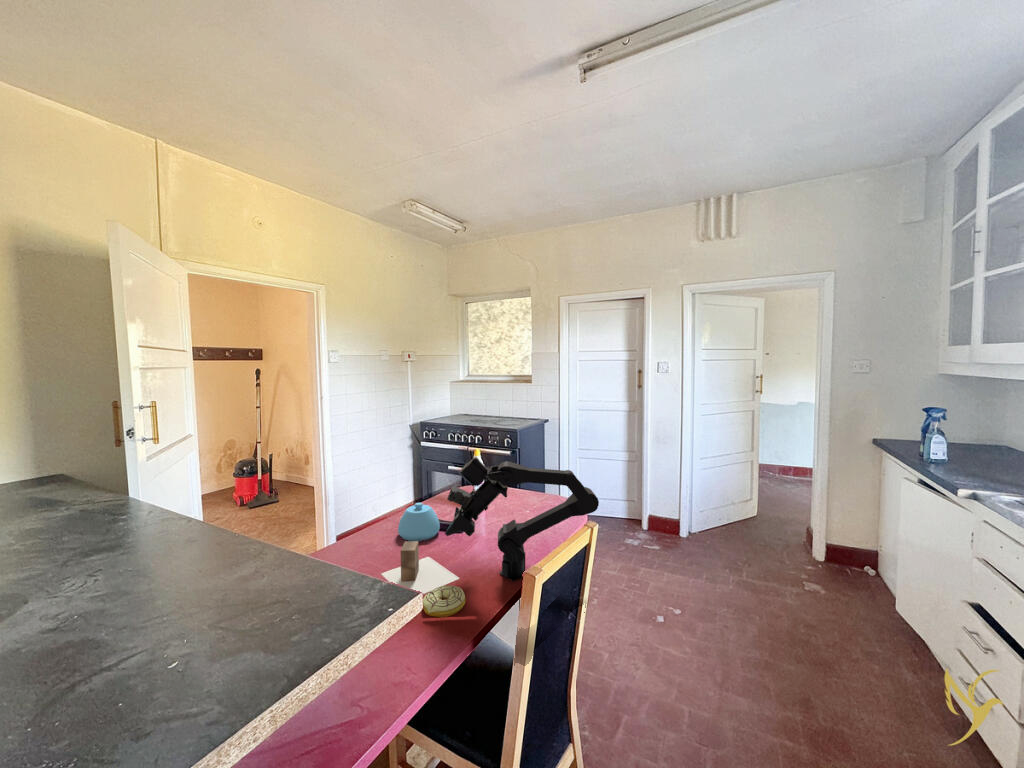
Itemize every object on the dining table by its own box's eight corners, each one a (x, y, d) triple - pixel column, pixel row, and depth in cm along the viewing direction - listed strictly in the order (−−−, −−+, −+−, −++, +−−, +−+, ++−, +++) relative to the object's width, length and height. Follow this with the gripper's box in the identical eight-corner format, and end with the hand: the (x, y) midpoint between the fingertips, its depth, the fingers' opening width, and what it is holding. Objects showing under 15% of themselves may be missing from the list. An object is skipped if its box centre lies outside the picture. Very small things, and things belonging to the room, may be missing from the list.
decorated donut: (420, 601, 106) (419, 587, 106) (459, 593, 110) (459, 579, 110) (426, 625, 96) (426, 609, 96) (469, 614, 100) (469, 600, 100)
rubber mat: (428, 558, 129) (428, 556, 129) (459, 580, 116) (459, 578, 116) (380, 575, 119) (380, 573, 119) (409, 602, 105) (409, 600, 105)
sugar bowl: (416, 547, 138) (415, 514, 137) (389, 536, 147) (389, 505, 146) (448, 532, 150) (447, 502, 149) (421, 523, 159) (421, 494, 158)
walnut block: (418, 570, 121) (418, 541, 120) (415, 581, 115) (414, 550, 114) (405, 570, 120) (404, 541, 120) (401, 581, 114) (400, 550, 114)
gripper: (465, 469, 127) (430, 504, 126) (461, 487, 108) (420, 529, 108) (490, 493, 127) (456, 528, 127) (491, 515, 109) (450, 556, 109)
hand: (446, 534), depth 118 cm, fingers closed
